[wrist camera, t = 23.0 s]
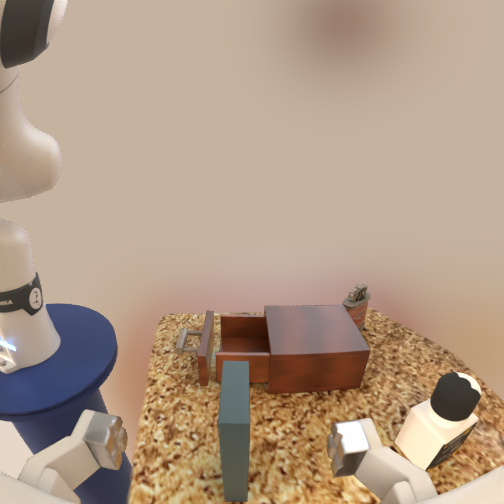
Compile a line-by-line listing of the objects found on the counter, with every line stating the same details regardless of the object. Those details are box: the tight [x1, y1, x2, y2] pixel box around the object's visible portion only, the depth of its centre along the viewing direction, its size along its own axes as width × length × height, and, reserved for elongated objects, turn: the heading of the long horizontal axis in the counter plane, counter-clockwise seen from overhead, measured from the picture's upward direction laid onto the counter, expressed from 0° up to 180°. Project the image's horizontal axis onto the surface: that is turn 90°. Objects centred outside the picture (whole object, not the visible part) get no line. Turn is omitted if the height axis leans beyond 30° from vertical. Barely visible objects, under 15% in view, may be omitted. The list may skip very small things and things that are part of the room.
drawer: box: [174, 311, 271, 386], centre depth 49 cm, size 18×13×6 cm
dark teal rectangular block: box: [218, 361, 250, 502], centre depth 27 cm, size 2×8×15 cm, turn 2°
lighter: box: [342, 284, 370, 331], centre depth 58 cm, size 8×3×10 cm, turn 131°
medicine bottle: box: [395, 372, 481, 472], centre depth 28 cm, size 7×7×12 cm
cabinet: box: [264, 305, 370, 394], centre depth 49 cm, size 15×15×8 cm
